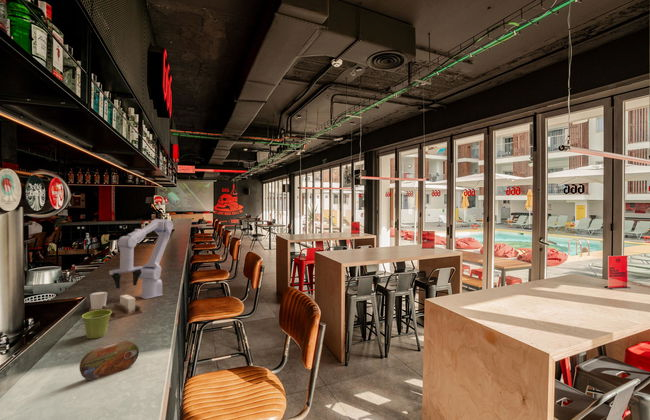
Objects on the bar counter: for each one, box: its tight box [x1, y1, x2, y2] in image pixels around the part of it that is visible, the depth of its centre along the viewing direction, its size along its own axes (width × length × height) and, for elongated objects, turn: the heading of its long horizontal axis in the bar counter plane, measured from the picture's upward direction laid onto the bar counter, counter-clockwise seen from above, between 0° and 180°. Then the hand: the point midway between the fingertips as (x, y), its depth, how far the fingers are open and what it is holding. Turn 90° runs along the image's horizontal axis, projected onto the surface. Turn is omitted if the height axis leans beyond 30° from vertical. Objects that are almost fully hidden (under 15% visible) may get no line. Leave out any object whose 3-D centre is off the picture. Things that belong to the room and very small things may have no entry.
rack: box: [88, 302, 143, 322], centre depth 141 cm, size 17×14×3 cm
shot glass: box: [89, 291, 108, 310], centre depth 149 cm, size 7×7×7 cm
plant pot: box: [81, 309, 112, 340], centre depth 118 cm, size 9×9×9 cm
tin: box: [78, 340, 140, 381], centre depth 94 cm, size 15×3×8 cm, turn 139°
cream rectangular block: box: [119, 294, 136, 312], centre depth 145 cm, size 3×9×6 cm, turn 55°
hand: (126, 286), depth 154 cm, fingers open, 7 cm apart
